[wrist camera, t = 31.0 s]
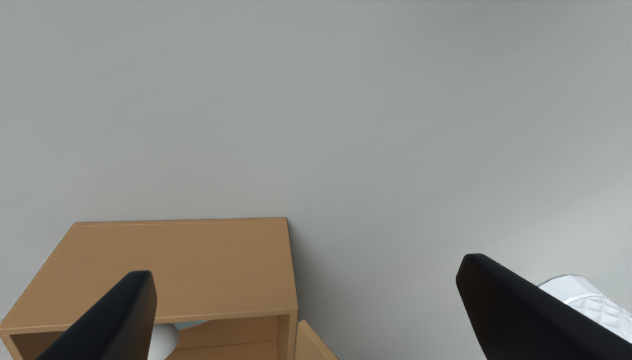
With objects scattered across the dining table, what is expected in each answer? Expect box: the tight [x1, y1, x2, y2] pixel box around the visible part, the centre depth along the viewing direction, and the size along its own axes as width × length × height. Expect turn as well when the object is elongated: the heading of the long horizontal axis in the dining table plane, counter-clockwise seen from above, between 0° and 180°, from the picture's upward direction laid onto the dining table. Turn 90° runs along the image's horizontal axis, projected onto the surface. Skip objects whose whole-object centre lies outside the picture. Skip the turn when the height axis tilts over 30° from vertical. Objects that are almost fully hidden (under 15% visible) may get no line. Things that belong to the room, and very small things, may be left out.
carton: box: [0, 218, 298, 360], centre depth 22 cm, size 13×13×7 cm
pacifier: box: [147, 320, 208, 360], centre depth 22 cm, size 7×6×6 cm
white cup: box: [539, 275, 632, 343], centre depth 28 cm, size 8×8×10 cm
